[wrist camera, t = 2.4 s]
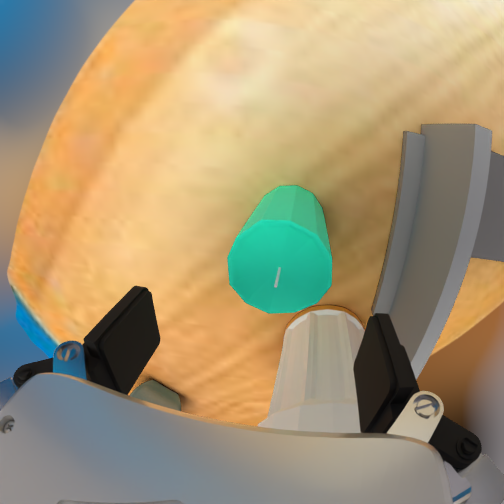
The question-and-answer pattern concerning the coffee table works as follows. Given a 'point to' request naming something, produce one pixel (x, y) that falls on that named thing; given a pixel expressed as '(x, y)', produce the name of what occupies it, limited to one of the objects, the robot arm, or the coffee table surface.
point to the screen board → (432, 231)
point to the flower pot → (157, 395)
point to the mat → (492, 214)
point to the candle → (282, 253)
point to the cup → (317, 373)
